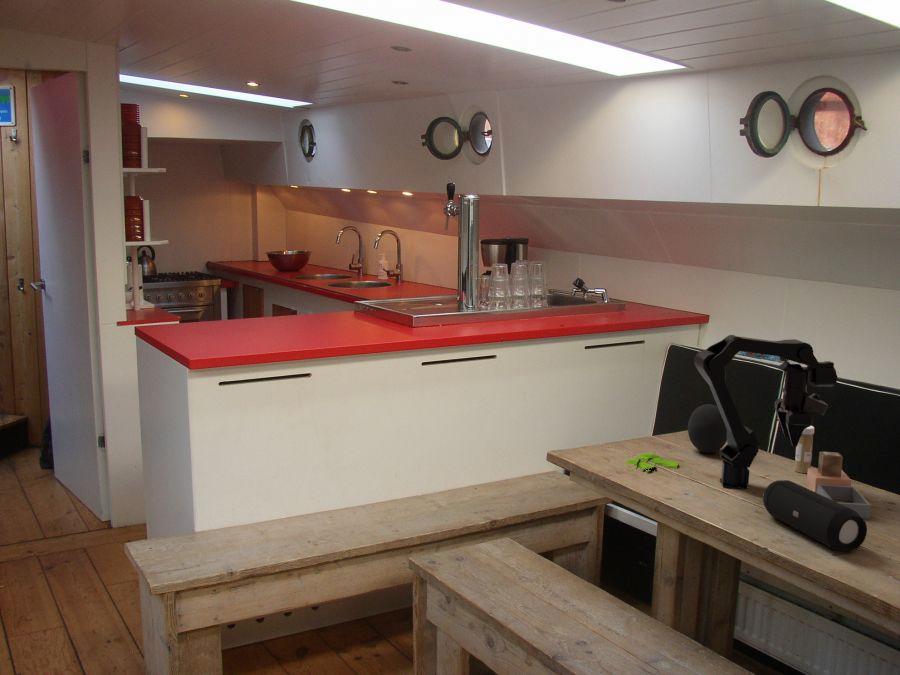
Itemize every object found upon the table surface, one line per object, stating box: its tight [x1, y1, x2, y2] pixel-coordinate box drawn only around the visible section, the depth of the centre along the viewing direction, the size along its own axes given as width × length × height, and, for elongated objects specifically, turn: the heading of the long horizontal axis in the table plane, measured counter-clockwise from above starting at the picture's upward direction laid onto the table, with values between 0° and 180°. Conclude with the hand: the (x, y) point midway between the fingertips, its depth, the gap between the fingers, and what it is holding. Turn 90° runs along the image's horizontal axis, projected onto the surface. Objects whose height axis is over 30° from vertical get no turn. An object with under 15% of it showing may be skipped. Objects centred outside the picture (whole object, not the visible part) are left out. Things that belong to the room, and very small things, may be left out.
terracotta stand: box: [805, 467, 853, 493], centre depth 243 cm, size 9×9×4 cm
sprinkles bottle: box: [794, 425, 815, 474], centre depth 258 cm, size 5×5×14 cm
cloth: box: [625, 452, 680, 475], centre depth 261 cm, size 20×22×2 cm
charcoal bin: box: [817, 485, 872, 520], centre depth 229 cm, size 9×14×4 cm, turn 172°
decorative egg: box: [687, 403, 728, 454], centre depth 275 cm, size 12×12×15 cm
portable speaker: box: [762, 479, 868, 552], centre depth 210 cm, size 26×10×10 cm, turn 19°
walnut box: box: [817, 451, 844, 477], centre depth 242 cm, size 5×4×6 cm
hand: (790, 441), depth 245 cm, fingers open, 9 cm apart
